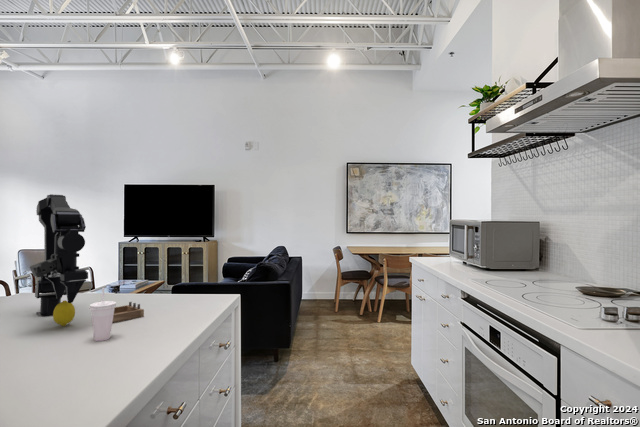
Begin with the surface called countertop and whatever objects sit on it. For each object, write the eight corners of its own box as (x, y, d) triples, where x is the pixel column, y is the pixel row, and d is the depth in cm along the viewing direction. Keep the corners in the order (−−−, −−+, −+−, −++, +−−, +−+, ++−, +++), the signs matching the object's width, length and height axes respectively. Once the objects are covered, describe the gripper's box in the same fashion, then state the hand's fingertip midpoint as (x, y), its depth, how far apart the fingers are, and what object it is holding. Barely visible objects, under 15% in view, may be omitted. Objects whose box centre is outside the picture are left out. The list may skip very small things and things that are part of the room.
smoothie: (86, 343, 93) (88, 290, 93) (89, 336, 99) (91, 287, 99) (114, 340, 96) (116, 288, 96) (116, 333, 102) (117, 285, 102)
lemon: (63, 329, 105) (63, 302, 106) (47, 328, 107) (48, 301, 107) (79, 324, 111) (79, 299, 111) (64, 323, 112) (65, 298, 112)
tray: (94, 318, 118) (94, 306, 118) (128, 311, 127) (128, 300, 127) (109, 324, 111) (109, 311, 111) (143, 316, 120) (143, 305, 120)
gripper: (23, 250, 108) (22, 301, 108) (44, 253, 97) (43, 310, 97) (66, 248, 117) (64, 295, 117) (89, 251, 106) (88, 303, 106)
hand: (64, 300), depth 109 cm, fingers open, 9 cm apart
